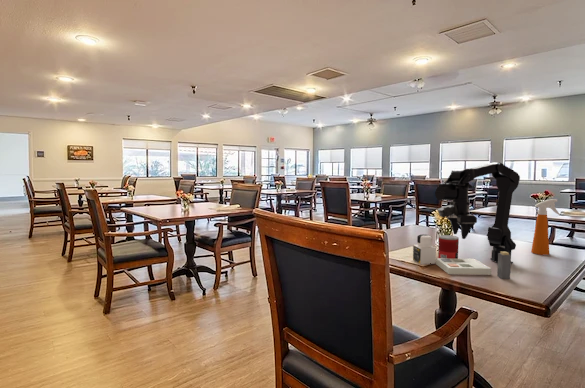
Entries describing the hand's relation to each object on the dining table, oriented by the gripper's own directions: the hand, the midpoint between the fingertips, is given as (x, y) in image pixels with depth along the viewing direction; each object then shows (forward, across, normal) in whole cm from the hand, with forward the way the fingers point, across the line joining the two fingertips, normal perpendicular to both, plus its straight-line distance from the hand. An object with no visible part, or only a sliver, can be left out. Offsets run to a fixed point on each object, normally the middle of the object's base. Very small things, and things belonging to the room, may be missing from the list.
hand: (459, 236), depth 141 cm
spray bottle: (+14, -25, +49) cm, 57 cm away
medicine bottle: (+13, -6, -12) cm, 19 cm away
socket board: (+13, +4, 0) cm, 13 cm away
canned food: (+13, -8, -2) cm, 15 cm away
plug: (+13, +14, +11) cm, 22 cm away
